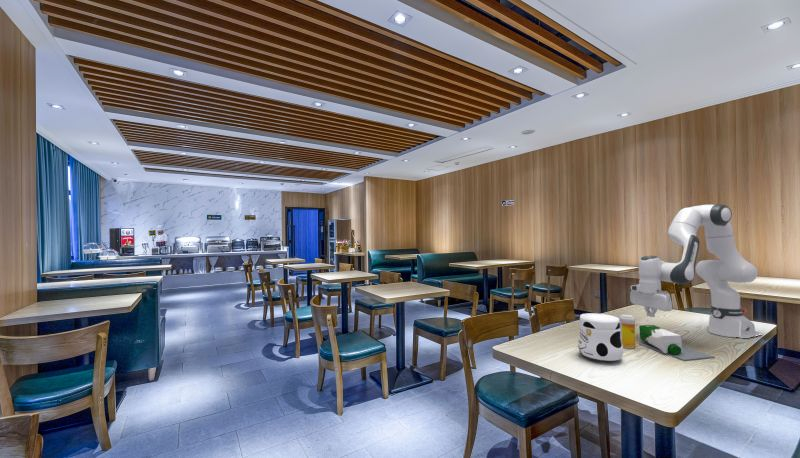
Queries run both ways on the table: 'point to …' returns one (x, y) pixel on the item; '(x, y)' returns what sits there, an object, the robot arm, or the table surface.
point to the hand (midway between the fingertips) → (650, 316)
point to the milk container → (600, 337)
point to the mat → (685, 355)
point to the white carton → (661, 339)
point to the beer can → (627, 331)
